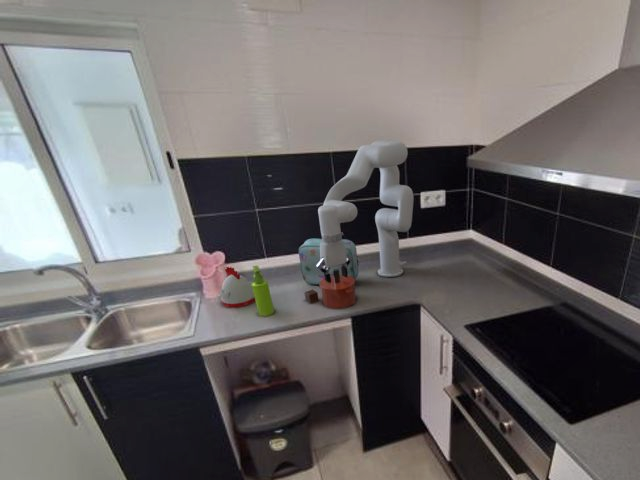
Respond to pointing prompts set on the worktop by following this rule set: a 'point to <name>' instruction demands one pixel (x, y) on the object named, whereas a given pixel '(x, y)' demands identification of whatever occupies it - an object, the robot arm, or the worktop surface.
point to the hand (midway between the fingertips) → (336, 279)
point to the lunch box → (311, 258)
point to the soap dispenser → (262, 294)
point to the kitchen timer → (236, 290)
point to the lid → (337, 282)
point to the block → (311, 296)
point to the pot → (339, 297)
